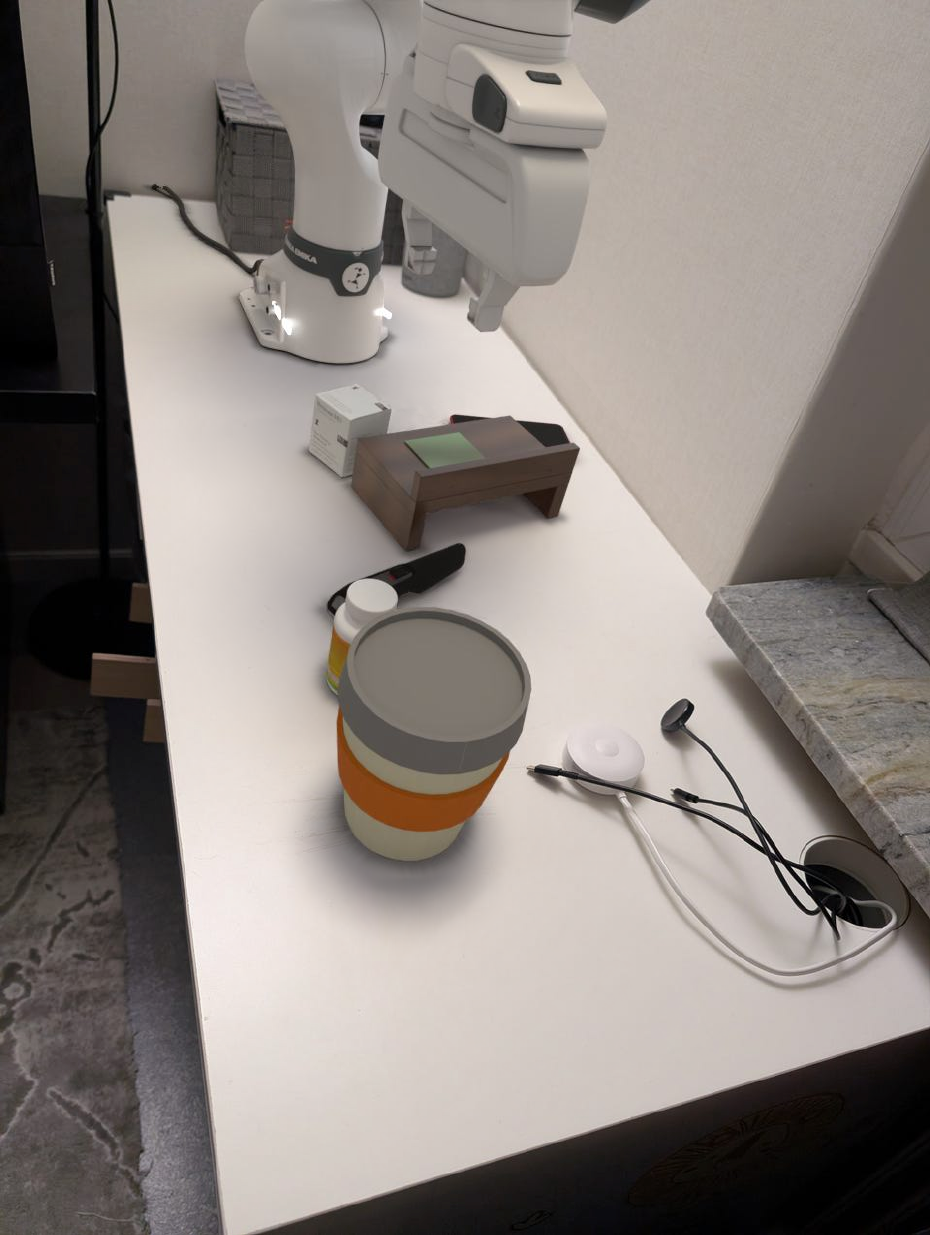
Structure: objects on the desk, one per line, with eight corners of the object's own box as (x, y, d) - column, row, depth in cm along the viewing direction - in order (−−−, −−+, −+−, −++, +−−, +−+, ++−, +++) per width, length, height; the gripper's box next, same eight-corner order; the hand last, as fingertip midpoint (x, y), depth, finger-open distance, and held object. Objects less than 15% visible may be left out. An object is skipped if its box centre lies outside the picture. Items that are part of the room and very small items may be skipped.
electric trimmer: (470, 578, 90) (477, 553, 88) (348, 632, 80) (353, 605, 78) (445, 557, 91) (451, 532, 89) (323, 607, 82) (327, 581, 80)
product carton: (307, 452, 100) (313, 393, 95) (348, 438, 104) (356, 381, 99) (342, 479, 98) (350, 420, 93) (383, 464, 101) (393, 406, 97)
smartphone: (577, 455, 110) (459, 445, 106) (575, 461, 111) (458, 452, 106) (561, 424, 115) (449, 413, 111) (559, 430, 116) (447, 419, 112)
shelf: (350, 486, 97) (361, 412, 91) (498, 459, 107) (516, 391, 102) (406, 551, 90) (421, 477, 85) (557, 516, 101) (580, 448, 95)
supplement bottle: (379, 712, 74) (397, 626, 67) (316, 693, 74) (328, 606, 68) (396, 668, 78) (414, 583, 72) (336, 651, 78) (349, 564, 72)
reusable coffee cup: (399, 719, 74) (431, 580, 64) (518, 814, 69) (572, 679, 59) (283, 803, 65) (300, 658, 56) (409, 918, 61) (451, 781, 51)
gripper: (368, 28, 59) (347, 242, 68) (533, 118, 46) (481, 366, 55) (451, 39, 62) (421, 242, 71) (627, 126, 49) (564, 360, 58)
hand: (448, 298), depth 63 cm, fingers open, 8 cm apart
